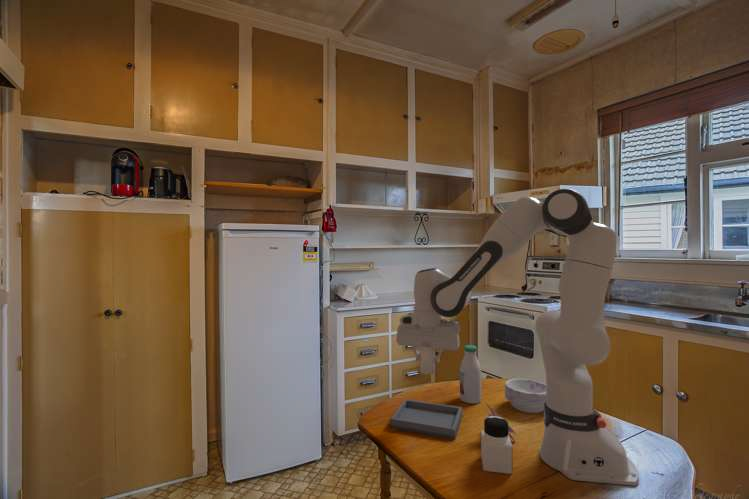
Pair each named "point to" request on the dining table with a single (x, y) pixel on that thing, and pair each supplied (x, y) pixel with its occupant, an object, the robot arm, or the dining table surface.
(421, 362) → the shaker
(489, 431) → the medicine bottle
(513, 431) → the lily
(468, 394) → the milk bottle
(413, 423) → the tray
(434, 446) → the dining table surface
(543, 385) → the paper bowls
